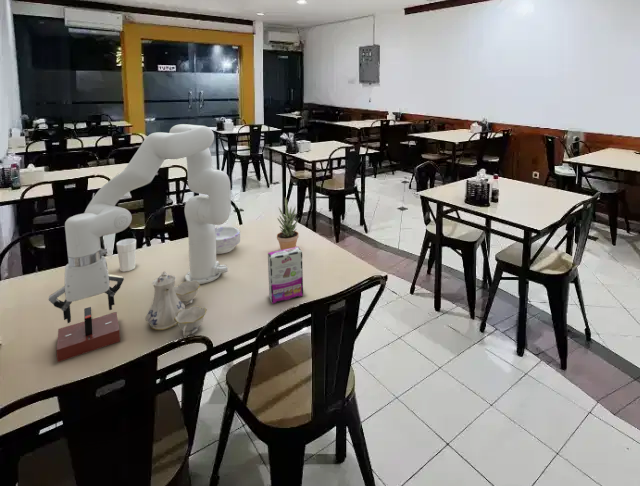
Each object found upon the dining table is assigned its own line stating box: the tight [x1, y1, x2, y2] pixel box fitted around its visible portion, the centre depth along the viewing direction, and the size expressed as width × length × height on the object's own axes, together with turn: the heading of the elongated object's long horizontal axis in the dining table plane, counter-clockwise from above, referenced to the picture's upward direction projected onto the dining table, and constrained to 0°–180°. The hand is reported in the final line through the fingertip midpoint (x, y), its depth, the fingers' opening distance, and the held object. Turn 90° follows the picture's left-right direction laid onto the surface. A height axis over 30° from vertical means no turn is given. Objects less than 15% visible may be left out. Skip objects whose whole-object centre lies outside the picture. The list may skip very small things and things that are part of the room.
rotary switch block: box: [56, 311, 121, 363], centre depth 111 cm, size 14×11×4 cm
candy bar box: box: [267, 246, 304, 305], centre depth 134 cm, size 11×5×16 cm, turn 117°
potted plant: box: [276, 197, 300, 250], centre depth 171 cm, size 10×10×25 cm
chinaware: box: [144, 271, 208, 338], centre depth 122 cm, size 28×17×17 cm, turn 35°
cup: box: [116, 238, 137, 272], centre depth 154 cm, size 7×7×11 cm
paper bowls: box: [215, 226, 241, 255], centre depth 172 cm, size 15×15×8 cm
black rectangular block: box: [83, 306, 93, 336], centre depth 111 cm, size 6×2×5 cm, turn 37°
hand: (90, 314), depth 111 cm, fingers open, 9 cm apart
